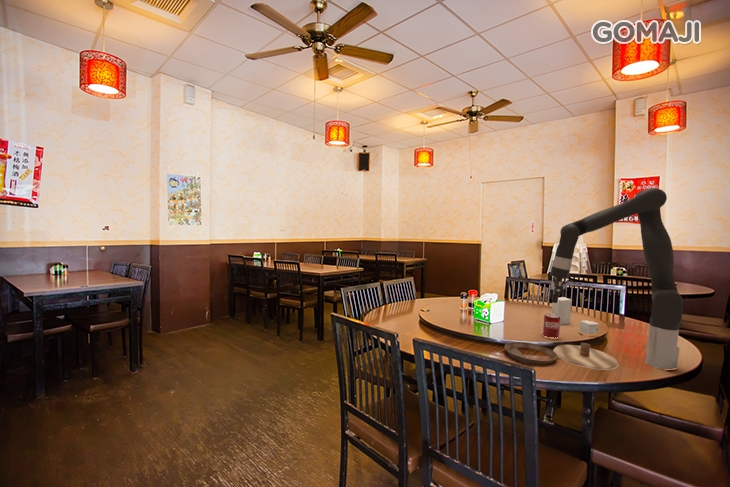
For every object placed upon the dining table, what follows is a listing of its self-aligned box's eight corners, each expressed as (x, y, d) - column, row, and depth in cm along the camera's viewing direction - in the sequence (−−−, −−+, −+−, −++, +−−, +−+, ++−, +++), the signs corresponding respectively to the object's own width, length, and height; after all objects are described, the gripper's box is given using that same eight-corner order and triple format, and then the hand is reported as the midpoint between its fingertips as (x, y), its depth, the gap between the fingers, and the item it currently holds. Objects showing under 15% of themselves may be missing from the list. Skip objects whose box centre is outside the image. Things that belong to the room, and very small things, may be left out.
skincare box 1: (562, 321, 198) (564, 296, 197) (570, 324, 193) (572, 299, 191) (550, 321, 197) (552, 297, 195) (558, 325, 191) (560, 299, 189)
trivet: (596, 348, 158) (596, 347, 158) (632, 372, 134) (632, 371, 134) (543, 345, 160) (543, 344, 160) (569, 369, 136) (570, 367, 136)
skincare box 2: (588, 338, 172) (589, 324, 171) (578, 333, 178) (579, 320, 177) (597, 337, 173) (599, 323, 172) (587, 333, 179) (589, 320, 178)
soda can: (561, 341, 166) (562, 318, 165) (545, 340, 167) (547, 316, 166) (555, 336, 173) (557, 313, 172) (540, 335, 174) (542, 312, 173)
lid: (596, 347, 157) (597, 336, 157) (630, 370, 135) (631, 357, 134) (545, 345, 159) (546, 333, 159) (570, 367, 137) (571, 353, 136)
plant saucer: (511, 344, 162) (512, 337, 161) (560, 356, 149) (561, 349, 148) (497, 357, 146) (498, 350, 145) (551, 373, 133) (551, 365, 132)
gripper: (573, 271, 147) (564, 306, 149) (567, 266, 160) (559, 299, 162) (554, 267, 149) (545, 301, 152) (550, 263, 163) (542, 295, 165)
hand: (552, 300), depth 157 cm, fingers open, 8 cm apart
